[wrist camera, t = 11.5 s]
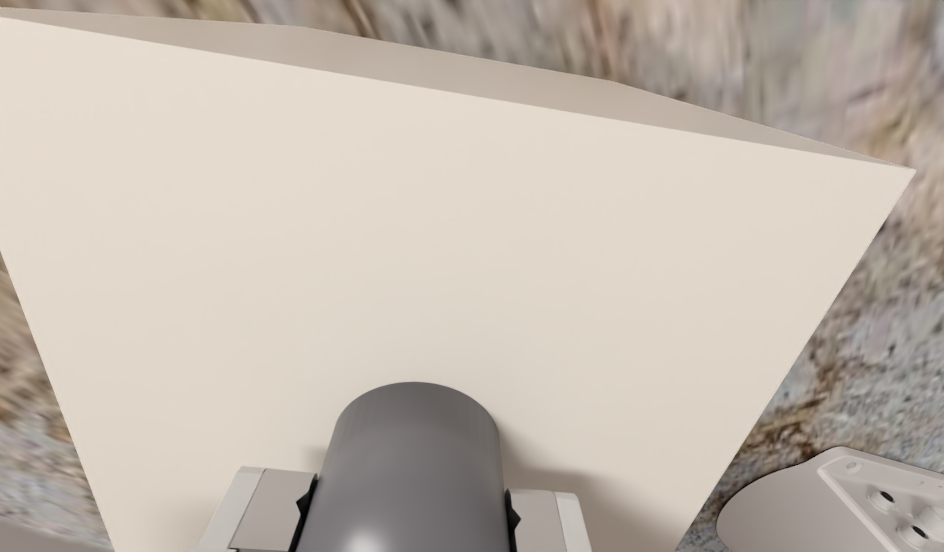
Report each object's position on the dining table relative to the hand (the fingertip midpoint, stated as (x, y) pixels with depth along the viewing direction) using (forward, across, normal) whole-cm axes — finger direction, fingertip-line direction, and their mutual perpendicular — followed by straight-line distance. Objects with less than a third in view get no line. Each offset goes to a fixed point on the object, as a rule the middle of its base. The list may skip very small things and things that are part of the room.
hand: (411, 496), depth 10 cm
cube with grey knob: (+19, 0, 0) cm, 19 cm away
